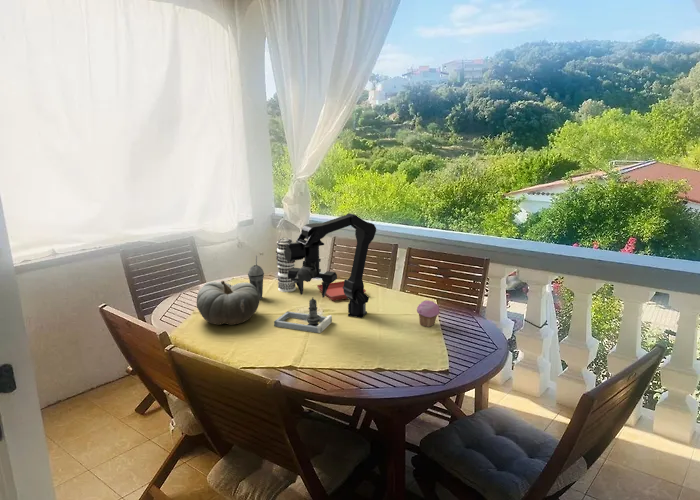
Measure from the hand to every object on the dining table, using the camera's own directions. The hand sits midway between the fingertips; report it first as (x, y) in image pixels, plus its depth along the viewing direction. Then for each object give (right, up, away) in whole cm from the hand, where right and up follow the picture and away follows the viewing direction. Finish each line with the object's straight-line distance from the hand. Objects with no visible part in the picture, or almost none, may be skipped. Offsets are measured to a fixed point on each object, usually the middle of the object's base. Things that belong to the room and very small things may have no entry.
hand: (312, 296), depth 192 cm
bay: (-4, -12, +5) cm, 13 cm away
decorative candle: (-16, -1, +46) cm, 49 cm away
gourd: (-35, -11, +11) cm, 38 cm away
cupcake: (+46, -12, +3) cm, 47 cm away
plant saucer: (+10, -3, +40) cm, 41 cm away
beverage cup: (-28, -4, +34) cm, 44 cm away
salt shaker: (0, -12, +3) cm, 13 cm away
